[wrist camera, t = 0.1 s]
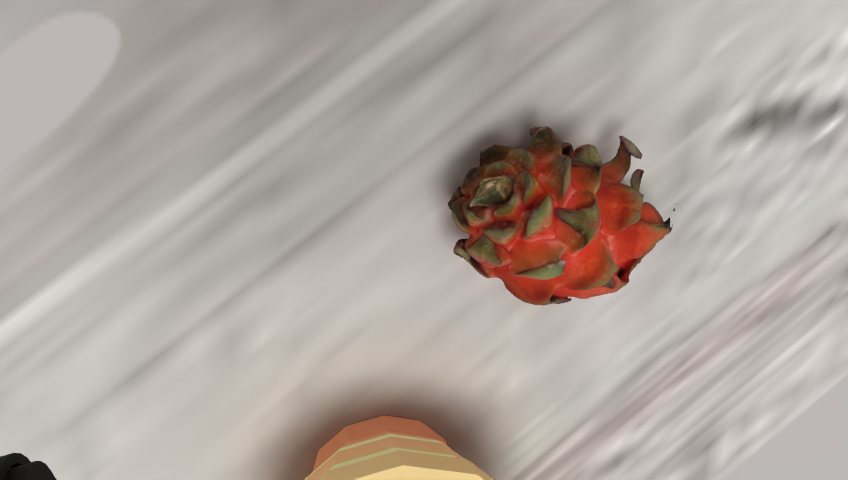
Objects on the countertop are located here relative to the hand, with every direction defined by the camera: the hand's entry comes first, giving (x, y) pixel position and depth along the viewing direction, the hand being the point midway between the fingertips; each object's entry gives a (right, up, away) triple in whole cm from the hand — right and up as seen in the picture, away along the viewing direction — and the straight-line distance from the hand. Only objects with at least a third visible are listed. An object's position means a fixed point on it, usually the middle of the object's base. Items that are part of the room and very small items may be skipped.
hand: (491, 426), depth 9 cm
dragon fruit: (+6, +5, +34) cm, 35 cm away
